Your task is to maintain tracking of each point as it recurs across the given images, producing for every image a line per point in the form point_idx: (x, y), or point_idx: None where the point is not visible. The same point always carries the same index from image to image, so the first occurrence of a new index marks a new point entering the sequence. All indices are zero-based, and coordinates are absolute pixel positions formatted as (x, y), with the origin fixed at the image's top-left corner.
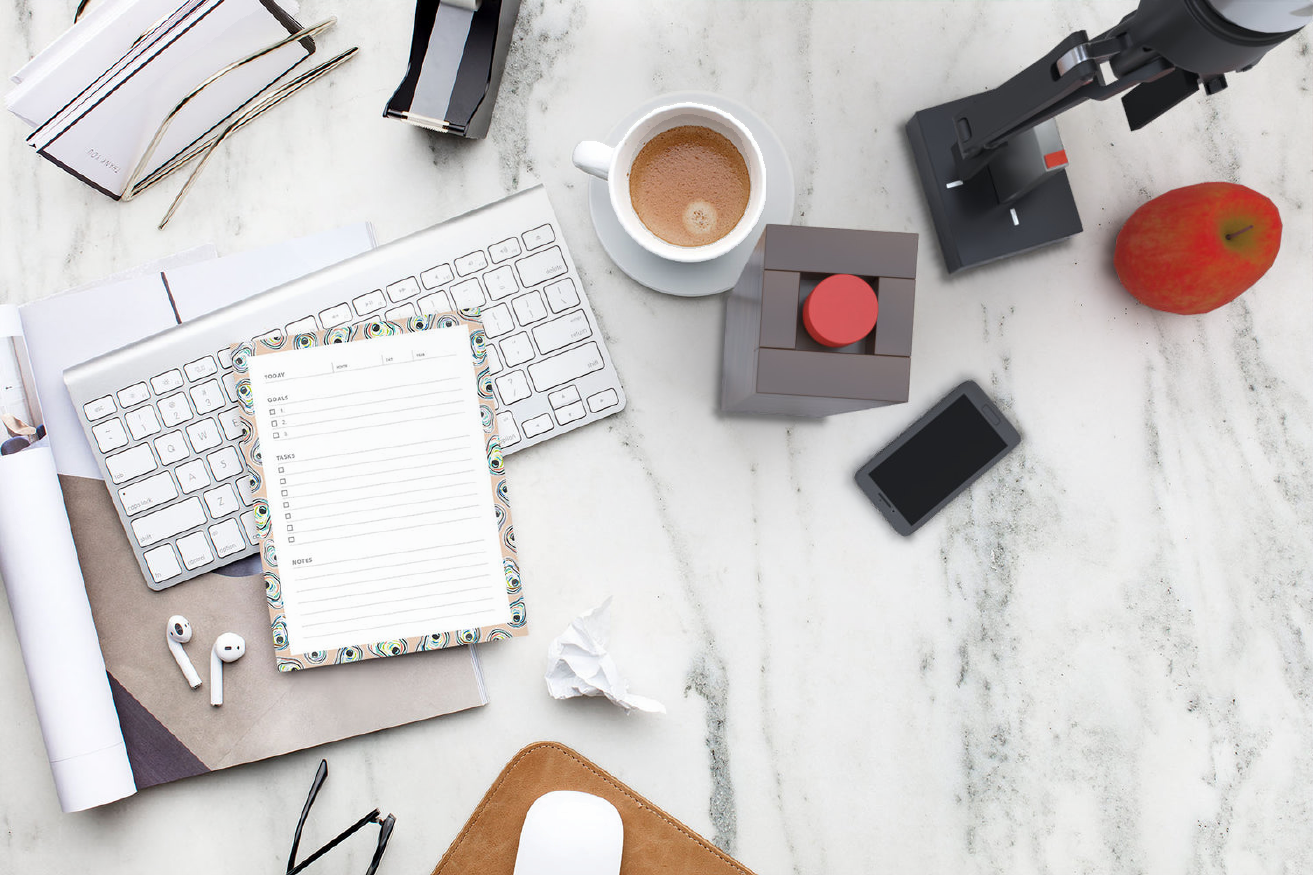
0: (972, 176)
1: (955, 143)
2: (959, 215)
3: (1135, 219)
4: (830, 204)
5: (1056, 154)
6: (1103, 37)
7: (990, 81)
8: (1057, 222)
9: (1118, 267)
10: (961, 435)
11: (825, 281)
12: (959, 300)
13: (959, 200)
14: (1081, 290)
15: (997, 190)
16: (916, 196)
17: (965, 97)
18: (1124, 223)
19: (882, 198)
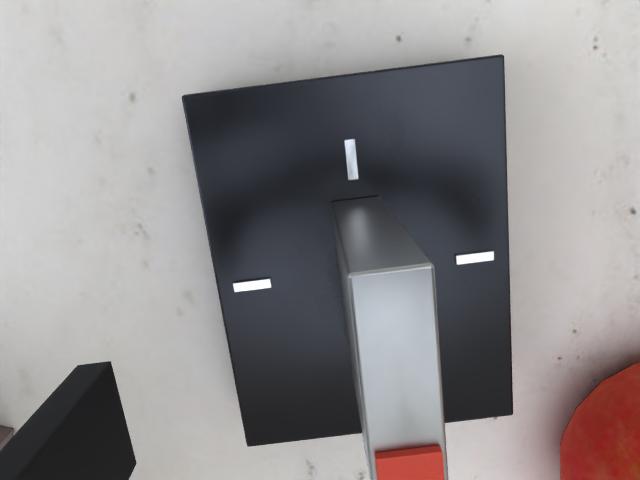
0: (129, 477)
1: (55, 392)
2: (256, 349)
3: (621, 434)
4: (24, 242)
5: (411, 463)
6: None
7: (412, 23)
8: (463, 392)
9: (563, 474)
10: None
11: None
12: (268, 449)
13: (260, 318)
14: (493, 461)
15: (344, 317)
16: (209, 253)
17: (311, 79)
18: (602, 391)
19: (136, 246)
